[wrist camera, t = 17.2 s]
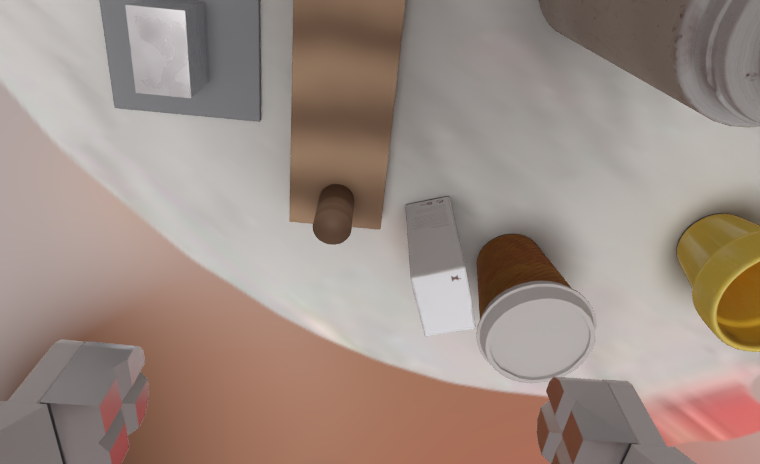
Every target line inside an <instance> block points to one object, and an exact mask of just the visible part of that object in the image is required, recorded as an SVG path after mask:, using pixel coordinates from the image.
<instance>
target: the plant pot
mask: <svg viewBox="0 0 760 464" xmlns="http://www.w3.org/2000/svg"><path fill="white" fill-rule="evenodd" d="M677 258H678V261H679V263H680V265H681V267H682V269H683V271H684V273H685V275H686V277H687V279H688V281H689V283H690V285H691V287H692V289H693V291H692V296H693V303H694V306H695V309H696V311H697V312H698V314H699V315H700V317H701V318H702V320H703V321H704V322H705V323H706V325H707V326H708V327H709V328H710V329H711V331H712V332H713V333H714V334H715V335H716V336H717V337H718V338H719V339H720V340H721V341H722V342H724V343H725V344H727V345H729V346H731V347H733V348H736V349H739V350H743V351H751V352H760V225H757V224H755V223H752V222H750V221H747V220H745V219H742V218H740V217H737V216H735V215H731V214H715V215H710V216H707V217H705V218H703V219H701V220H699V221H697V222H695V223H694V224H693V225H692V226H690V227H689V228H688V229H687V230H686V231H685V232H684V234H683V235H682V237H681V239H680V241H679V243H678V247H677Z"/></svg>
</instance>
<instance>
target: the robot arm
mask: <svg viewBox="0 0 760 464" xmlns="http://www.w3.org/2000/svg"><path fill="white" fill-rule="evenodd" d="M144 363H145V359H144V353H143V349H142V348H140V347H138V346H130V345H119V344H109V343H99V342H82V341H72V340H63V339H61V340H59V341H57V342H56V343H54V344H53V345H52V346H51V347H50V349H49V350H48V351H47V353H46V354H45V355H44V356H43V357H42V359H41V360H40V361H39V362H38V364H37V365H36V366H35V367H34V369H33V370H32V371H31V372H30V374H29V375H28V376H27V377H26V379H25V380H24V381H23V382H22V384H21V385H20V386H19V387H18V389H17V390H16V391H15V392H14V394H13V395H12V396H11V397H10V399H9V400H8V401H0V464H121V463H122V461H123V459H124V457H125V455H126V453H127V451H128V449H129V441H128V435H129V434H131V433H132V432H133V431H135V430H136V429H138V428H139V426H140V424H141V422H142V420H143V418H144V416H145V412H146V408H147V404H148V400H149V385H148V379H147V378H146V377H145V376H144V375H143V374H142V373H141V372H140V371H141V369H142V367H143V365H144ZM546 392H547V395H548V398H549V400H550V401H548V402H547V403H546V404H544V405H543V406H542V407H541V408H540V412H539V415H538V419H537V437H538V444H539V448H540V451H541V454H542V456H543V457H545V458H546V459H547V460H548V461H549V462H550V463H551V464H696V463H695V462H694V461H692V460H691V459H690V458H688V457H687V456H686V455H684V454H683V453H681V452H680V451H679V450H678V449H676V448H675V447H667V445H666V444H665V442H664V440H663V438H662V437H661V435H660V433H659V431H658V429H657V428H656V426H655V424H654V422H653V421H652V419H651V417H650V415H649V414H648V412H647V410H646V408H645V406H644V405H643V403H642V401H641V399H640V398H639V396H638V394H637V392H636V391H635V389H634V387H633V385H632V384H630V383H629V382H628V381H617V380H595V379H580V378H565V377H553V378H552V379H551V380H550V382H549V384H548V387H547V390H546Z"/></svg>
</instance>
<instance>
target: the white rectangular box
mask: <svg viewBox="0 0 760 464" xmlns="http://www.w3.org/2000/svg"><path fill="white" fill-rule="evenodd" d="M125 8H126V16H127V24H128V32H129V41H130V49H131V57H132V66H133V74H134V82H135V91H136V93H142V94H152V95H163V96H173V97H184V98H192V97H193V96H194V95H195V94H197V93H198V92H199V91H200V90H201V89H202V88H203V87H205V86H206V85H207V84H208V83H209V82H210V71H209V53H208V34H207V16H206V2H197V1H187V0H140V1H136V2H133V3H129V4H126V5H125Z"/></svg>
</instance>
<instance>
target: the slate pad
mask: <svg viewBox="0 0 760 464" xmlns="http://www.w3.org/2000/svg"><path fill="white" fill-rule="evenodd" d="M136 1H140V0H100V7H101V14H102V21H103V29H104V36H105V43H106V50H107V57H108V64H109V71H110V78H111V85H112V92H113V99H114V106H115V108H120V109H131V110H142V111H152V112H163V113H173V114H184V115H195V116H205V117H216V118H227V119H237V120H248V121H258V122H260V120H261V67H260V0H187V1H197V2H206V16H207V34H208V53H209V71H210V82H209V83H208V84H207V85H206V86H205V87H203V88H202V89H201V90H200V91H199V92H198V93H197V94H195V95H194V96H193V97H192V98H184V97H173V96H163V95H152V94H142V93H136V91H135V82H134V74H133V66H132V57H131V49H130V41H129V32H128V24H127V16H126V8H125V5H126V4H129V3H133V2H136Z"/></svg>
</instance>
